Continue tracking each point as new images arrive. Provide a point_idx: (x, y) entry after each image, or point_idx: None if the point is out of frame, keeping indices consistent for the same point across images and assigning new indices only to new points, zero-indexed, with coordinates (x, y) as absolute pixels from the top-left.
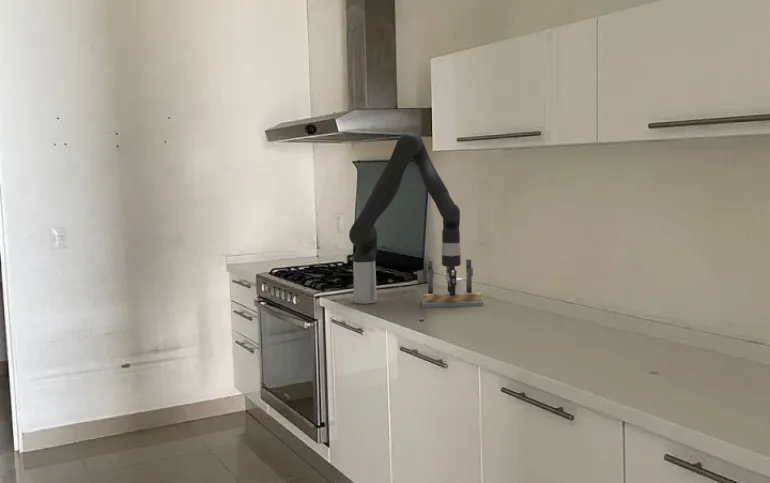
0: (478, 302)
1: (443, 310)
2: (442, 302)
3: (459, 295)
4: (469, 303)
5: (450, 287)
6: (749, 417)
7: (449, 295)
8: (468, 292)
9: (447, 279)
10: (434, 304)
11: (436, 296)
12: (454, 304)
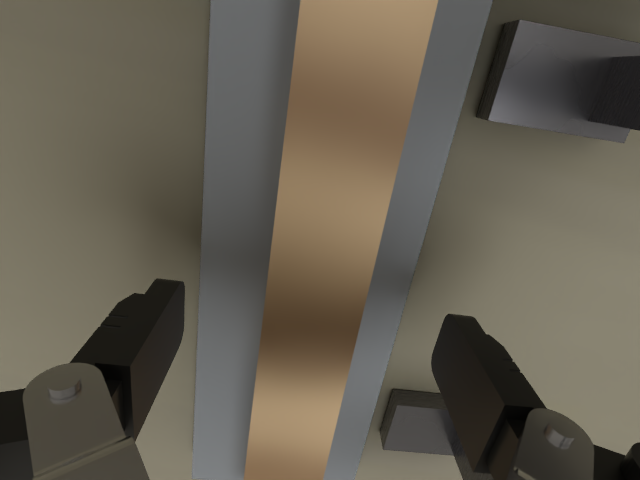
0: (195, 452)
1: (32, 110)
2: (274, 167)
3: (256, 381)
4: (196, 391)
5: (105, 363)
6: None
7: (268, 283)
8: (479, 477)
9: (544, 468)
10: (210, 44)
11: (290, 101)
12: (203, 270)
